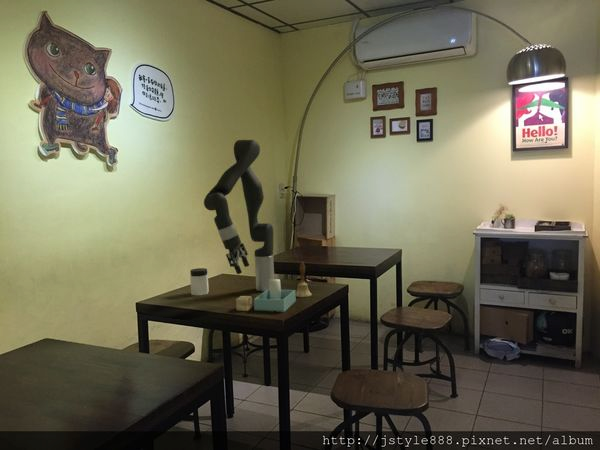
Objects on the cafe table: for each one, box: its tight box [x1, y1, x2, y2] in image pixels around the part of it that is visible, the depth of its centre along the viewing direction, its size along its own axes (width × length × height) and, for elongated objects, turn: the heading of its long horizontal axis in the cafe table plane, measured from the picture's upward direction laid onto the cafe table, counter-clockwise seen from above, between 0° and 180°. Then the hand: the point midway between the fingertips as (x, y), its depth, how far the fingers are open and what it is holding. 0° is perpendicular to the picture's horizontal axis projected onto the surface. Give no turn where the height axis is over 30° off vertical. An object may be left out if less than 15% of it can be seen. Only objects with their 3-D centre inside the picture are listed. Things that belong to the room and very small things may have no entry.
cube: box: [235, 295, 253, 312], centre depth 203 cm, size 5×5×5 cm
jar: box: [189, 267, 210, 296], centre depth 234 cm, size 9×8×12 cm
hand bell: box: [295, 261, 313, 298], centre depth 222 cm, size 8×8×16 cm
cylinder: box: [269, 278, 282, 300], centre depth 210 cm, size 5×5×10 cm
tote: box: [253, 289, 297, 313], centre depth 206 cm, size 17×13×5 cm
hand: (243, 269), depth 210 cm, fingers open, 8 cm apart
